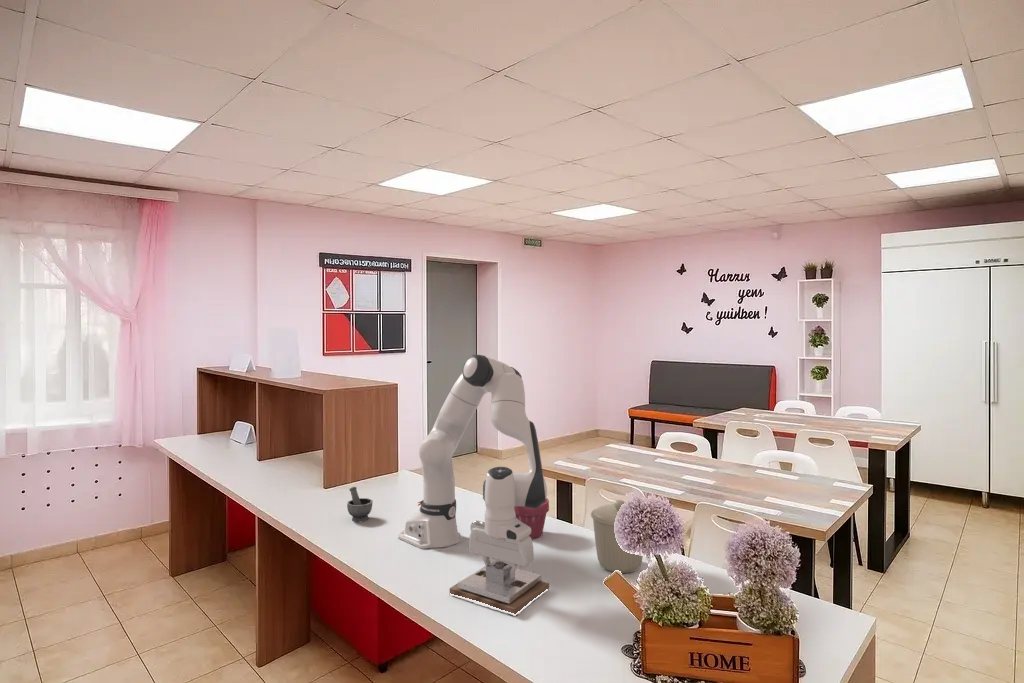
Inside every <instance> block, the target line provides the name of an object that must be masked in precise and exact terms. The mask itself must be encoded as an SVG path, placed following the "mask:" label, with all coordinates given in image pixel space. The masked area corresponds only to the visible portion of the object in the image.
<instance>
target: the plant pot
mask: <svg viewBox="0 0 1024 683" xmlns="http://www.w3.org/2000/svg"><path fill="white" fill-rule="evenodd" d="M514 510H515V514H516V518H517V519H518V520H519V521H521V522H522V523H524V524H526V525H527V526H529V527H530V528H531V534H530V535H529V536H530V537H531V539H532V540H533V539H538V538H541V537H542V536H543V531H544V528H545V523H546V517H547V513H548V512H549V511H550V501H549V499H548V498H547V497H546V501H545V502H544V503H543V504H542V505H540V506H539V507H537V508H530V507H525V506H514Z"/></svg>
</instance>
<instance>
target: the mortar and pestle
mask: <svg viewBox="0 0 1024 683" xmlns="http://www.w3.org/2000/svg"><path fill="white" fill-rule="evenodd" d="M349 491H350V494H351V499H350V500H348V501H347V503H346V504H347V505H346V507H347V511H348V514H349V515H350V516H351V518H352V519H351V521H352V522H355V523H361V522H365V521H366V522H367V521H368V520H369V515H370V514H371V512H372V511H373V499H370V498H367V497H366V498H365V497H364V498H363V497H360V496H359V494H358V491H357V486H352V487H350V488H349Z"/></svg>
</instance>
